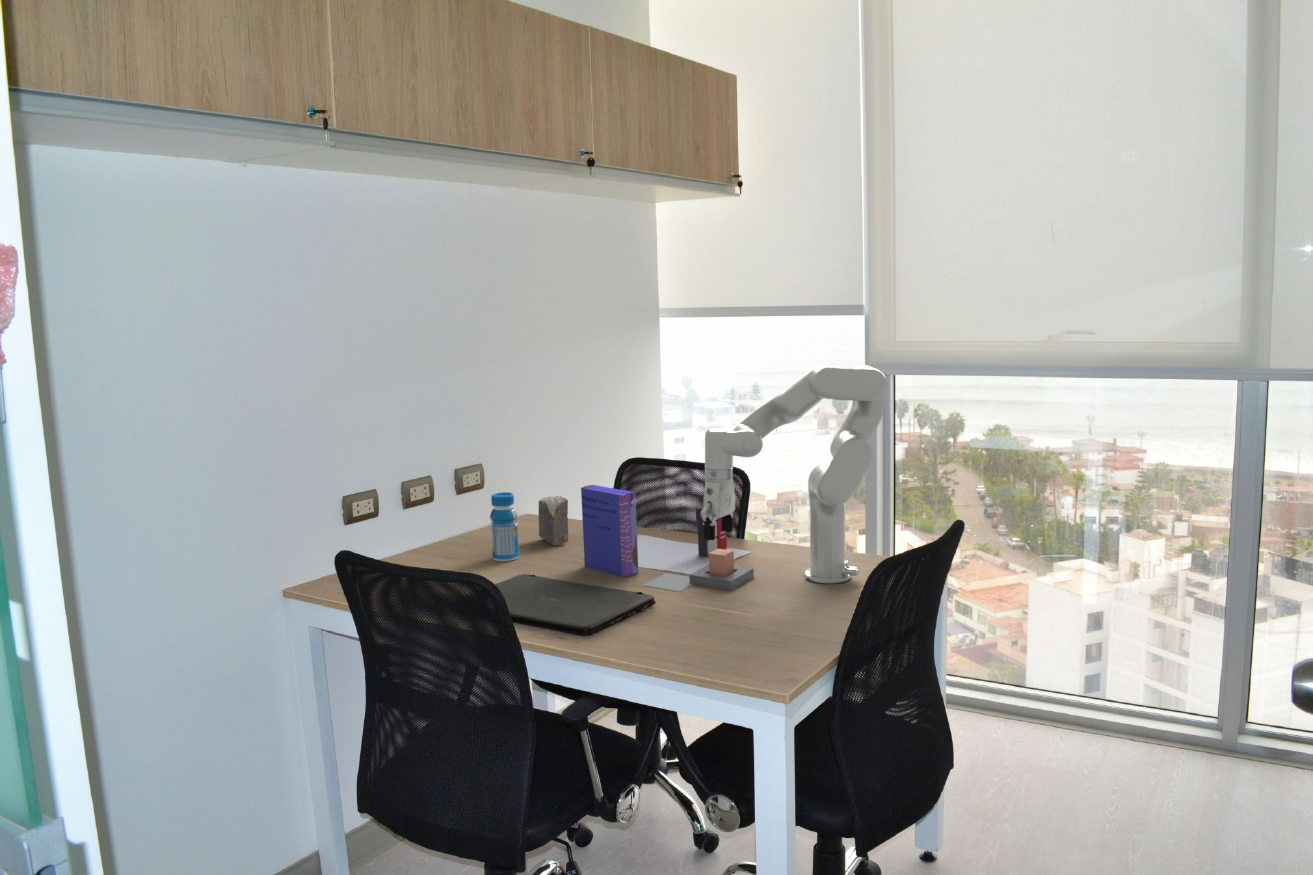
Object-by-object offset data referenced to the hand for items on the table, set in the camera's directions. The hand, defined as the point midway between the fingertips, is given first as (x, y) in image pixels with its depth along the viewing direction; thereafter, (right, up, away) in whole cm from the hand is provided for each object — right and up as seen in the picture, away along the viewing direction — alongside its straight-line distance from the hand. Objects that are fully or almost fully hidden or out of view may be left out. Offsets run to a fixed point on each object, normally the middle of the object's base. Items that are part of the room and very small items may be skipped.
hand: (718, 535), depth 267 cm
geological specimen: (-50, -7, +48) cm, 70 cm away
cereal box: (-30, -12, +17) cm, 36 cm away
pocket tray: (+1, -13, +2) cm, 13 cm away
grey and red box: (0, -9, +30) cm, 31 cm away
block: (+1, -13, +2) cm, 13 cm away
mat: (-12, -14, +2) cm, 18 cm away
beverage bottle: (-63, -10, +32) cm, 71 cm away
